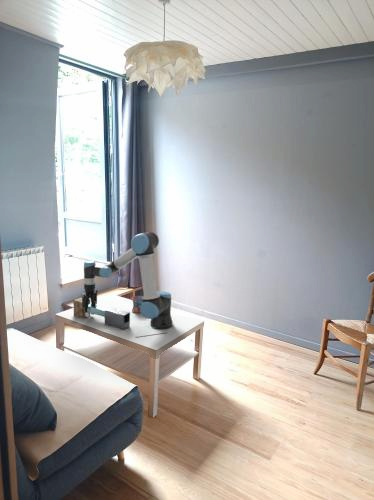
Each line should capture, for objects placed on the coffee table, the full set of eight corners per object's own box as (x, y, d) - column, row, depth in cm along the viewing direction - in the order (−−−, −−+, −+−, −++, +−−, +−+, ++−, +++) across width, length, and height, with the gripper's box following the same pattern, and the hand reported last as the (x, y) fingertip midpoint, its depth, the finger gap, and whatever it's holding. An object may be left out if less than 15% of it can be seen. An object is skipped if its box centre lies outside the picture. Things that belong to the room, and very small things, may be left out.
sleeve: (129, 327, 247) (130, 312, 245) (123, 330, 242) (123, 315, 240) (111, 321, 255) (111, 307, 253) (104, 324, 249) (104, 310, 247)
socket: (90, 314, 265) (90, 299, 263) (82, 318, 258) (81, 302, 256) (82, 312, 269) (81, 297, 267) (73, 315, 262) (73, 300, 260)
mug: (136, 314, 270) (137, 300, 268) (128, 311, 276) (129, 297, 274) (149, 310, 279) (149, 297, 277) (141, 307, 285) (141, 294, 283)
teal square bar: (114, 317, 253) (114, 308, 251) (108, 319, 248) (108, 311, 246) (83, 308, 266) (83, 300, 265) (77, 310, 261) (77, 302, 260)
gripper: (94, 279, 265) (94, 310, 269) (76, 285, 250) (76, 317, 254) (102, 281, 261) (102, 312, 266) (84, 287, 246) (84, 320, 251)
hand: (89, 315), depth 260 cm, fingers closed on teal square bar, 4 cm apart
